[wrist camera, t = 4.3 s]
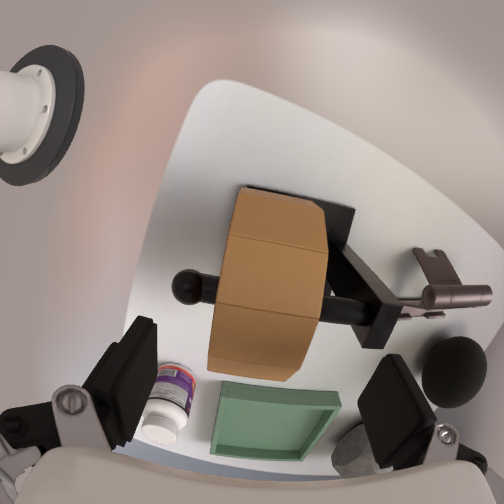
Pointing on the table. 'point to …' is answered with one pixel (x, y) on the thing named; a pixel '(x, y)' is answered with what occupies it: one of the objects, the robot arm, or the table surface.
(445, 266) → the tablet stand
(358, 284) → the hook rack
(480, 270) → the table surface
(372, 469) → the potted plant
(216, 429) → the tray
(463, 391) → the decorative ball
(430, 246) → the table surface
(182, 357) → the table surface
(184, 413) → the pill bottle
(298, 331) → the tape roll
